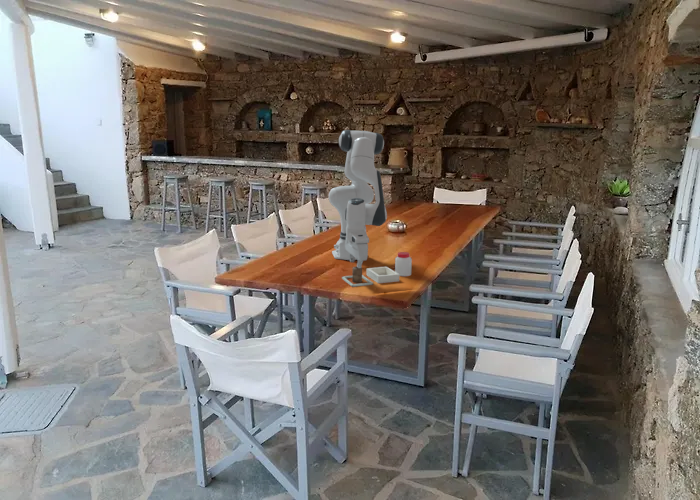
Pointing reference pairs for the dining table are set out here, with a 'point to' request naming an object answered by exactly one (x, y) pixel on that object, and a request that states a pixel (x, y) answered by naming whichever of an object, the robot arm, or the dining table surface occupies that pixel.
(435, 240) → the dining table surface
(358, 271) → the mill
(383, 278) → the white storage bin
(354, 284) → the tray
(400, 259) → the pill bottle
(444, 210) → the dining table surface
